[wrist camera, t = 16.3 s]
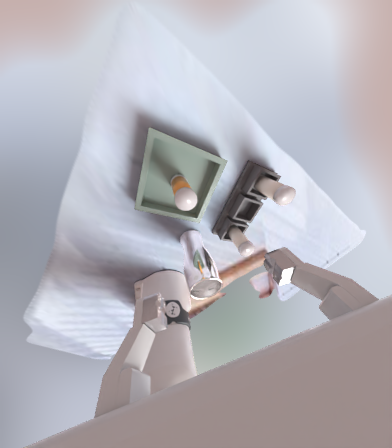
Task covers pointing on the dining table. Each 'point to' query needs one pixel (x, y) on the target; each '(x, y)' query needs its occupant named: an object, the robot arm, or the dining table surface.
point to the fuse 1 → (240, 241)
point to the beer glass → (199, 267)
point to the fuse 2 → (274, 190)
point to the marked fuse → (183, 193)
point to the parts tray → (171, 165)
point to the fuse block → (243, 201)
